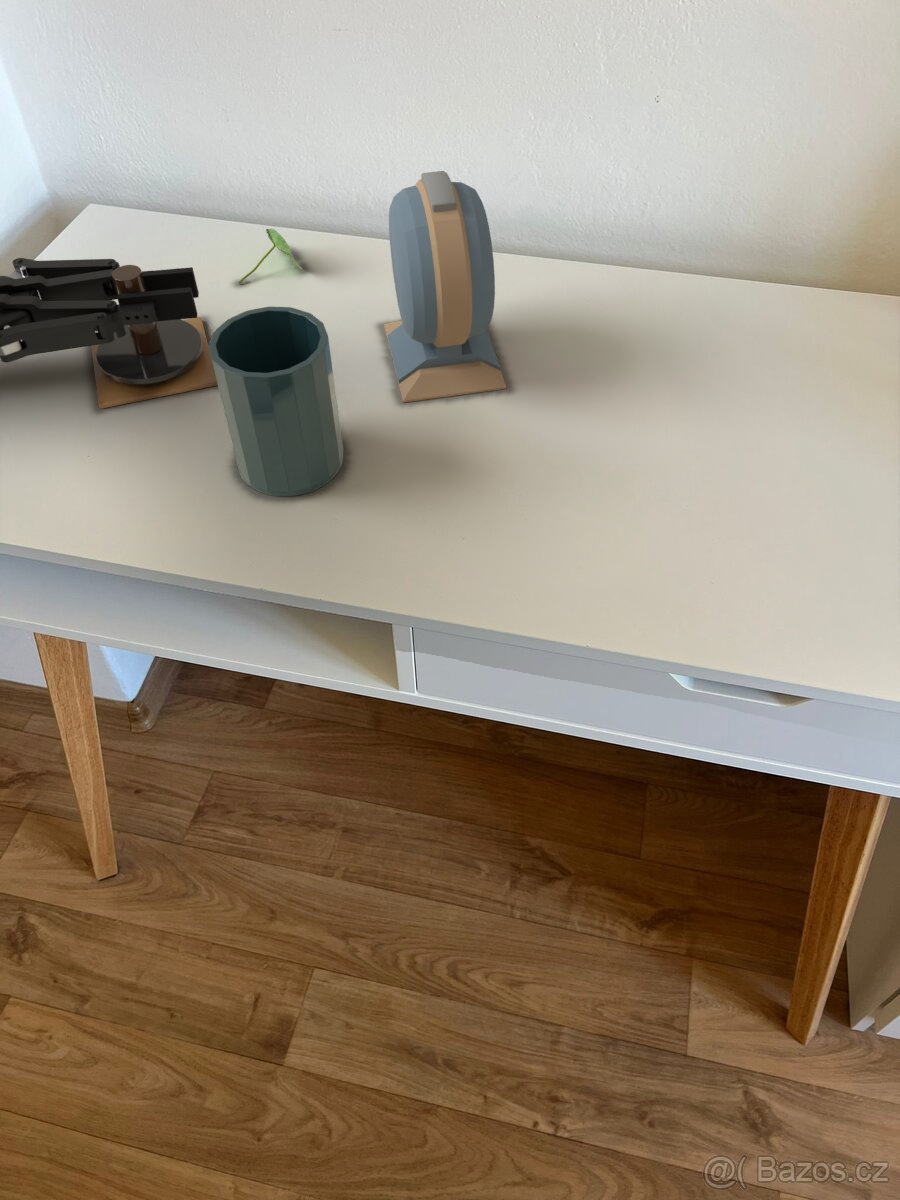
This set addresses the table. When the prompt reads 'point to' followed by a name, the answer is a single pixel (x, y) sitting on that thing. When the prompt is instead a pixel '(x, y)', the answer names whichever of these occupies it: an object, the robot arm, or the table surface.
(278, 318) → the jar
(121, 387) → the mat
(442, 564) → the table surface
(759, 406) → the table surface
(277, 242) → the seedling
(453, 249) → the alarm clock
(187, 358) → the lid
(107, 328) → the robot arm
